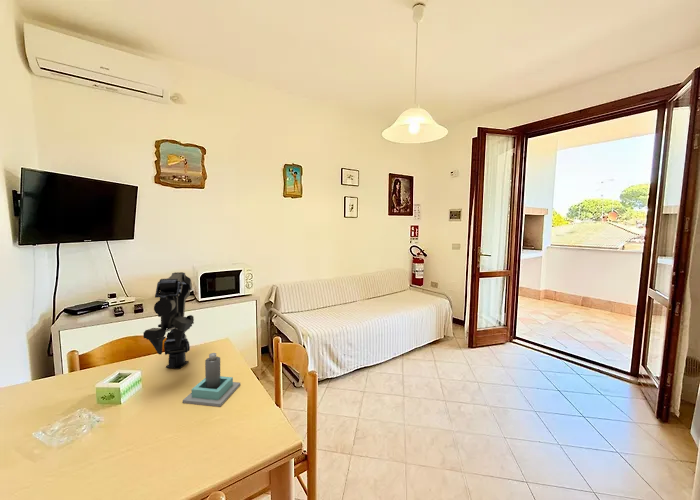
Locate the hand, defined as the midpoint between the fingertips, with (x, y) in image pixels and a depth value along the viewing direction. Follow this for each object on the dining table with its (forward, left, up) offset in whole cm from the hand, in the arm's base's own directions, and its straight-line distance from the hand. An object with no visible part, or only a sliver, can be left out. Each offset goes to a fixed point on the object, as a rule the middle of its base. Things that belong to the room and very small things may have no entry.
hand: (169, 350), depth 114 cm
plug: (+5, +21, -12) cm, 25 cm away
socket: (+5, +21, -13) cm, 25 cm away
